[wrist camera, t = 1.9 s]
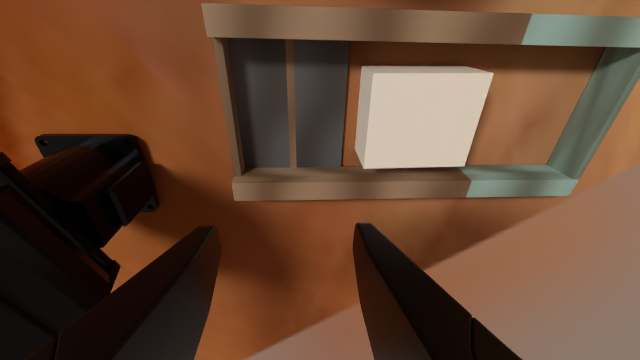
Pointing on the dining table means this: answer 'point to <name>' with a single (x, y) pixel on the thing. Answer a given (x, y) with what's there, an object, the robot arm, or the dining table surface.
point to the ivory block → (418, 115)
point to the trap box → (330, 96)
